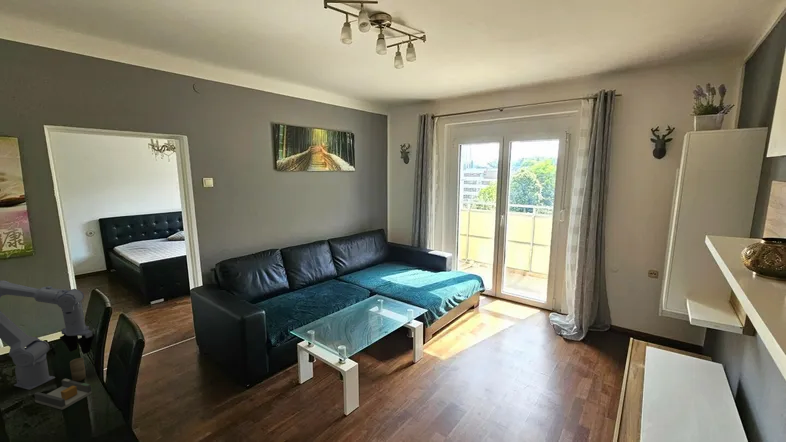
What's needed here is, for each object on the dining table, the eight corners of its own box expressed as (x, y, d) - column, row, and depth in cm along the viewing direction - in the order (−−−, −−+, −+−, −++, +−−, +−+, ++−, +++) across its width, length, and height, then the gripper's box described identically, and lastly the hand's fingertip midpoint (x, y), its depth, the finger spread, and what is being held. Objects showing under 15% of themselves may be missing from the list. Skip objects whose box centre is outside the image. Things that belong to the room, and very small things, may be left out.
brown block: (69, 381, 131) (67, 362, 130) (81, 375, 135) (78, 357, 133) (77, 382, 130) (74, 364, 129) (88, 376, 134) (86, 358, 132)
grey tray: (35, 402, 118) (33, 393, 118) (65, 387, 127) (64, 378, 127) (62, 409, 115) (60, 400, 114) (91, 393, 123) (90, 384, 123)
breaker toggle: (61, 399, 118) (60, 391, 118) (73, 392, 122) (72, 385, 121) (65, 400, 118) (64, 392, 118) (77, 393, 121) (76, 386, 121)
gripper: (98, 317, 133) (103, 348, 135) (73, 314, 137) (79, 344, 139) (78, 325, 126) (83, 357, 128) (52, 321, 130) (58, 353, 132)
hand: (80, 351), depth 133 cm, fingers open, 7 cm apart
